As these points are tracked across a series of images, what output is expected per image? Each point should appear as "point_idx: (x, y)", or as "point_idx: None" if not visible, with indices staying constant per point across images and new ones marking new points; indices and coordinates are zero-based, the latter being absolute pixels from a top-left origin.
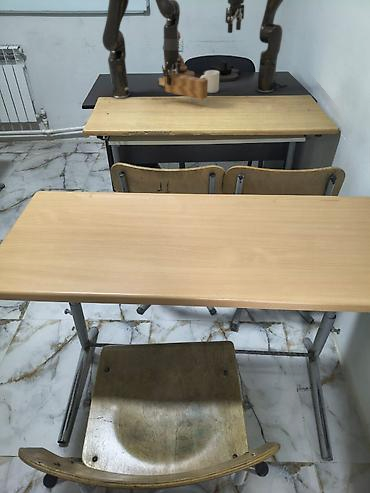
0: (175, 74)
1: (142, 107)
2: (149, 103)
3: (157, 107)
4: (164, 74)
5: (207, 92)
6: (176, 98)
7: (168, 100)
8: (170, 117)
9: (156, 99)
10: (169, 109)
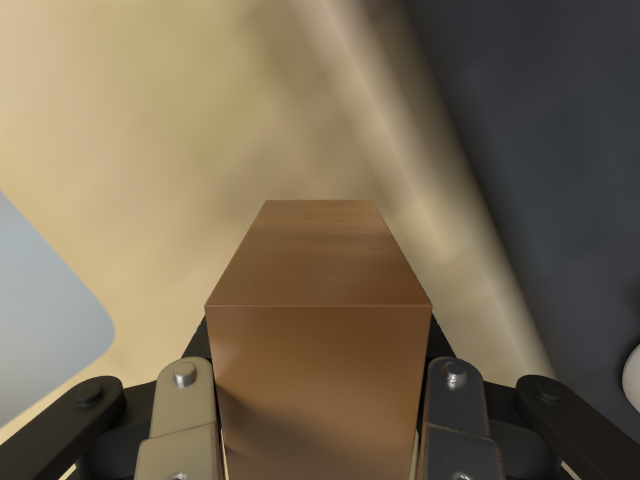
0: (348, 473)
1: (23, 79)
2: (148, 65)
3: (122, 207)
4: (51, 434)
5: (627, 360)
6: (402, 214)
7: (320, 182)
8: (51, 396)
9: (283, 49)
10: (154, 313)
